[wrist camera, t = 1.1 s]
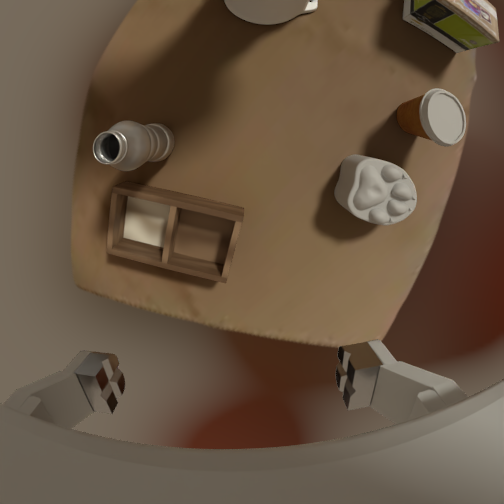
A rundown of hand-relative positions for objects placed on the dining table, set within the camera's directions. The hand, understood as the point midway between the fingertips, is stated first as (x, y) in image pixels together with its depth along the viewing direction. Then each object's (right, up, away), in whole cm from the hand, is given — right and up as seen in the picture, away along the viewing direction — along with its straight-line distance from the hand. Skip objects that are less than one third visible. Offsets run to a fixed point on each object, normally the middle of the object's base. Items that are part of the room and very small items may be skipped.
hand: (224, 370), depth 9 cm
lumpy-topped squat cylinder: (+22, +16, +39) cm, 47 cm away
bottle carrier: (-13, +9, +41) cm, 43 cm away
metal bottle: (-15, +23, +35) cm, 44 cm away
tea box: (+38, +52, +24) cm, 69 cm away
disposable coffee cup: (+30, +29, +33) cm, 54 cm away
